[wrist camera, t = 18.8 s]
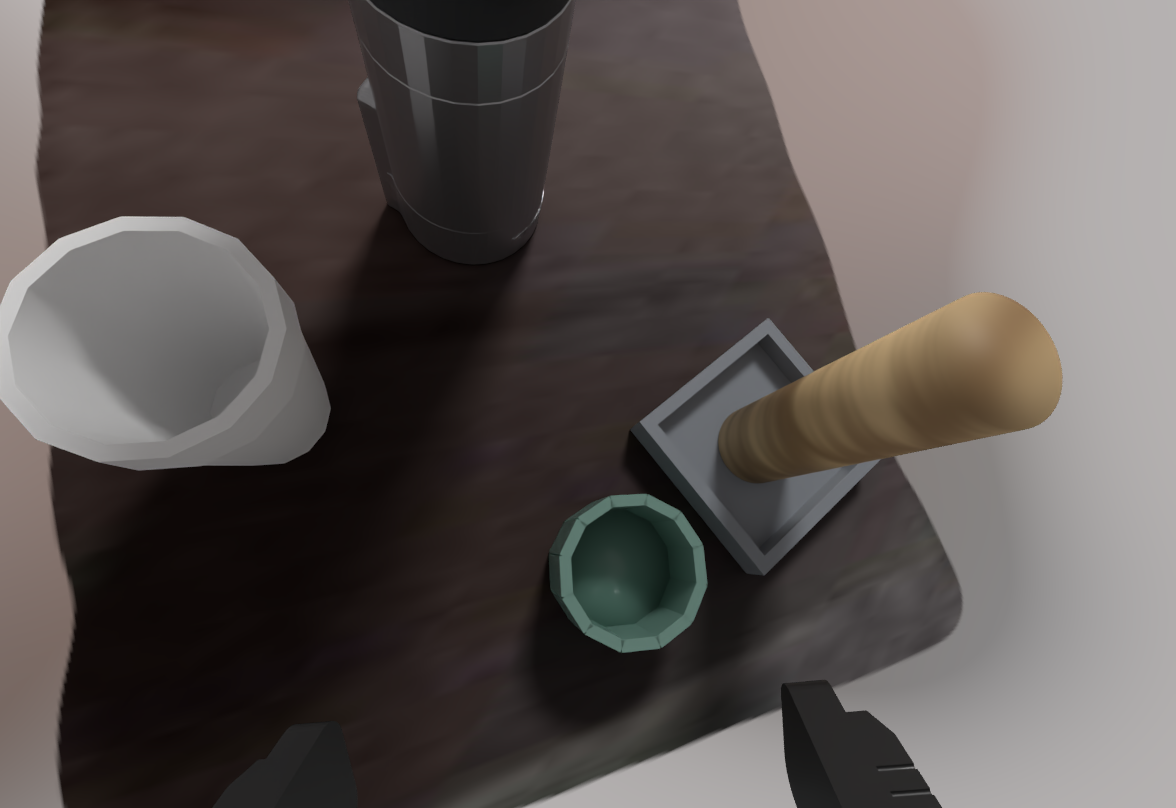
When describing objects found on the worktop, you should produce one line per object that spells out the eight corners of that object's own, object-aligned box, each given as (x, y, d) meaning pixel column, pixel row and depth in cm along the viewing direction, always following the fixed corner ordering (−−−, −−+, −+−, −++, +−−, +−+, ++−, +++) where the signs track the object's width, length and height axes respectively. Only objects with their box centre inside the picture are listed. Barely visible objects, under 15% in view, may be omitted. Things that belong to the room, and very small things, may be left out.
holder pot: (526, 598, 33) (533, 608, 28) (584, 479, 35) (600, 469, 30) (644, 658, 33) (671, 677, 28) (694, 535, 35) (727, 535, 31)
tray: (746, 573, 35) (764, 575, 33) (629, 429, 36) (639, 422, 34) (861, 460, 39) (884, 455, 36) (751, 330, 40) (768, 317, 37)
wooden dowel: (706, 460, 36) (921, 384, 19) (735, 394, 37) (958, 267, 20) (774, 497, 36) (1046, 456, 19) (799, 430, 38) (1073, 335, 20)
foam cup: (168, 356, 32) (-28, 241, 20) (336, 318, 35) (253, 194, 22) (201, 515, 31) (11, 498, 18) (374, 465, 33) (309, 420, 21)
